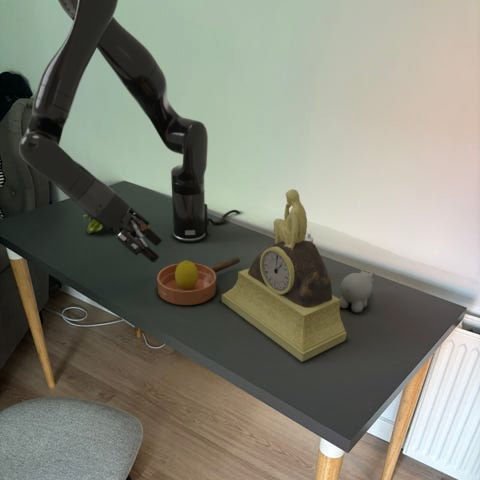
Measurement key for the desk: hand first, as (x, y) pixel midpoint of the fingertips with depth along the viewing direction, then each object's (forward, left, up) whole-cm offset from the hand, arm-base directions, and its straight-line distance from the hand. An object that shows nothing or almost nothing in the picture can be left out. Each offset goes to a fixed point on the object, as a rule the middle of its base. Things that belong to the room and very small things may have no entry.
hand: (158, 250), depth 119 cm
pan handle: (-17, +4, -9) cm, 20 cm away
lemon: (-5, +4, -11) cm, 13 cm away
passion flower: (-9, -40, -11) cm, 42 cm away
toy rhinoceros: (-33, +35, -11) cm, 49 cm away
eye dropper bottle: (-33, +18, -11) cm, 39 cm away
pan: (-5, +4, -11) cm, 13 cm away
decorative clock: (-13, +28, -11) cm, 33 cm away
